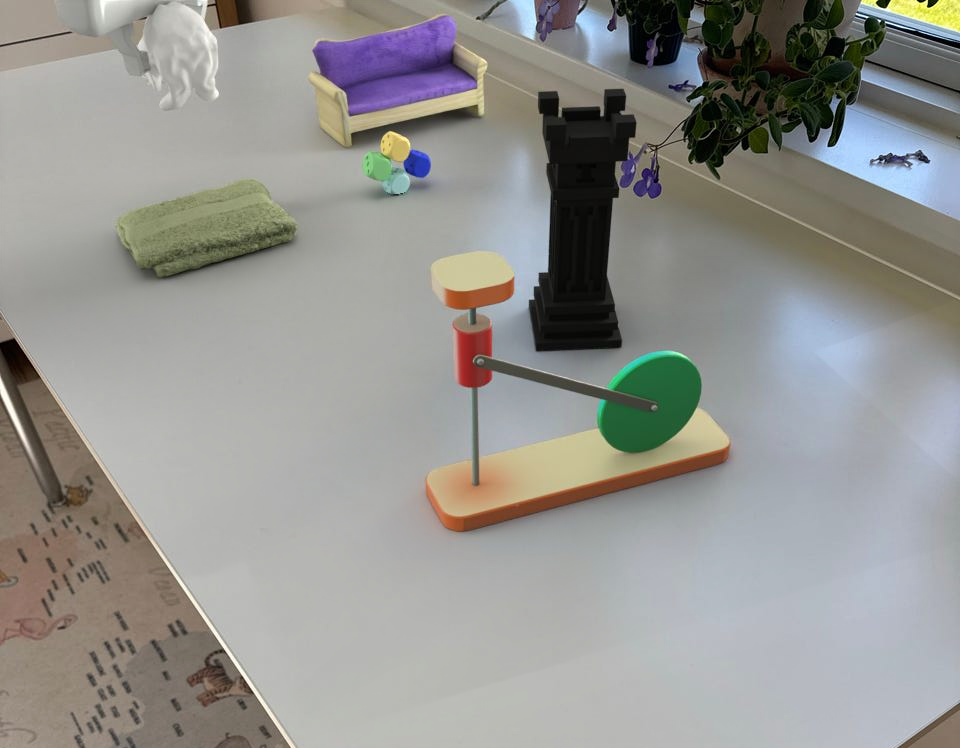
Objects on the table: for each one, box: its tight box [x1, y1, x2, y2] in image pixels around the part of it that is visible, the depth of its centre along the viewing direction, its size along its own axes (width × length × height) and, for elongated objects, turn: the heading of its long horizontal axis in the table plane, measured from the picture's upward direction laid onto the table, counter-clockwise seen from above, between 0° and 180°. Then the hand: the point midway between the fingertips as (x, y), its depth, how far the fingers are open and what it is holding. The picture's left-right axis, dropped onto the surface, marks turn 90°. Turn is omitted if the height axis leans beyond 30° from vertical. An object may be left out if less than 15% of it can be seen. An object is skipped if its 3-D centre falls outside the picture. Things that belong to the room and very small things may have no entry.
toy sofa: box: [308, 13, 488, 148], centre depth 130 cm, size 21×9×10 cm, turn 119°
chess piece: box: [528, 88, 638, 352], centre depth 92 cm, size 8×8×20 cm
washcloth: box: [114, 177, 299, 278], centre depth 112 cm, size 13×18×3 cm
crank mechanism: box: [425, 250, 731, 532], centre depth 77 cm, size 25×7×19 cm, turn 111°
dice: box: [361, 130, 432, 195], centre depth 118 cm, size 8×3×6 cm, turn 120°
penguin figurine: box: [137, 2, 220, 112], centre depth 98 cm, size 6×8×12 cm
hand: (167, 60), depth 99 cm, fingers closed on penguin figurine, 6 cm apart
